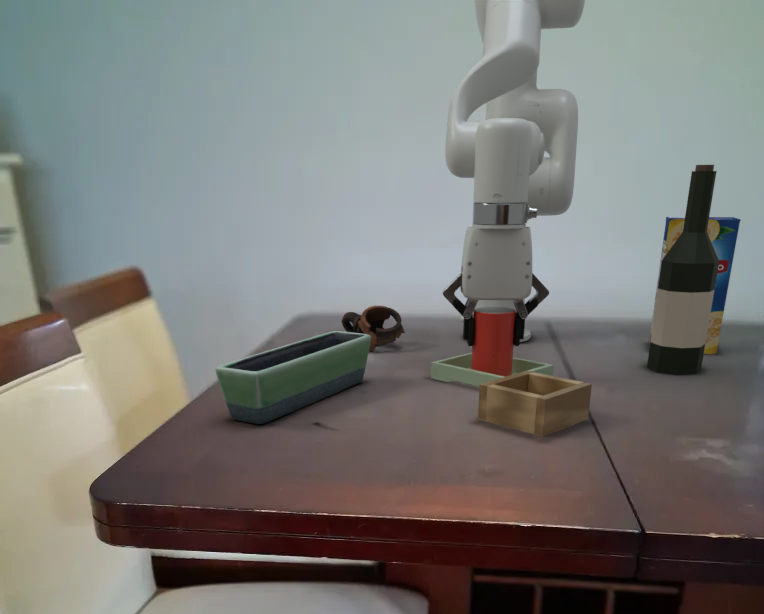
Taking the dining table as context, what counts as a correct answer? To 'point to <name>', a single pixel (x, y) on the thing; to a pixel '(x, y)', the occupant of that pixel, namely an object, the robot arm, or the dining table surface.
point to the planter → (293, 375)
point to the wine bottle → (686, 286)
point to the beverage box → (724, 244)
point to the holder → (534, 402)
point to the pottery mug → (374, 325)
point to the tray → (462, 371)
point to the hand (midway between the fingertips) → (492, 343)
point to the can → (493, 340)
